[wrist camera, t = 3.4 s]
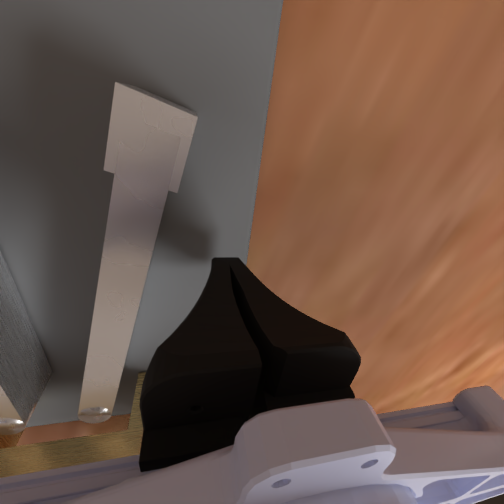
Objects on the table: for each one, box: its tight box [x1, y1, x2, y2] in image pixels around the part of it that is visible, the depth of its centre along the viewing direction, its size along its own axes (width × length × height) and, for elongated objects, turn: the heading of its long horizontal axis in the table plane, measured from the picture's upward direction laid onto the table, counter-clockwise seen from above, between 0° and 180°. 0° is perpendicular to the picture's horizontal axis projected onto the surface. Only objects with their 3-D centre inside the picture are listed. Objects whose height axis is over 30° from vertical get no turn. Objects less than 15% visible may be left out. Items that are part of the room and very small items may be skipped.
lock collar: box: [0, 372, 146, 478], centre depth 15 cm, size 8×3×5 cm, turn 82°
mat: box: [0, 0, 283, 427], centre depth 12 cm, size 20×26×1 cm
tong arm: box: [78, 82, 198, 423], centre depth 12 cm, size 2×16×3 cm, turn 157°
